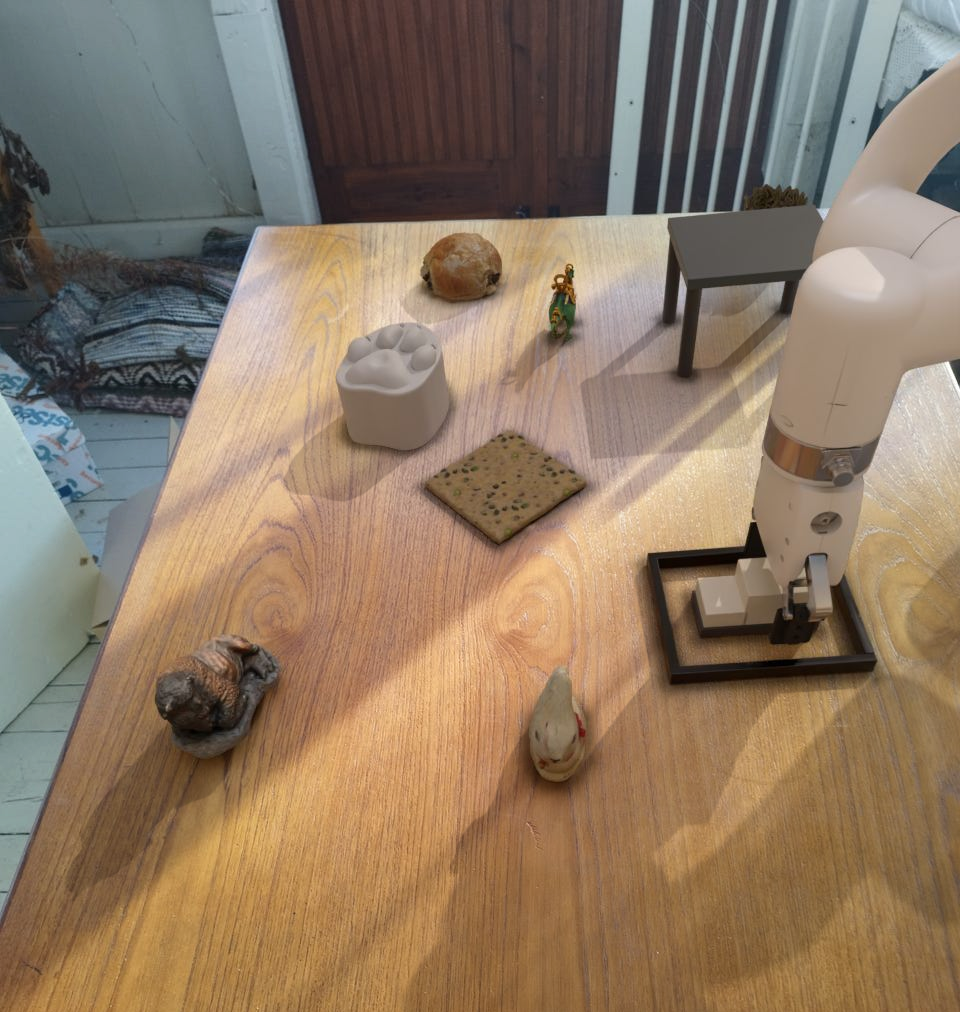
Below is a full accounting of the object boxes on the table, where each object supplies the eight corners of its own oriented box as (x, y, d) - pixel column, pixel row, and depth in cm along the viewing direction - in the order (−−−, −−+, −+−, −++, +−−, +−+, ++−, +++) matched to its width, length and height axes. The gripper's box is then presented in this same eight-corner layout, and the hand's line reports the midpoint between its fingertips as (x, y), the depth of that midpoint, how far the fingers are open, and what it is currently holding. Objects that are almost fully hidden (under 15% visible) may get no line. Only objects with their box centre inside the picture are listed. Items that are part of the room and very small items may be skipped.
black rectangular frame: (827, 550, 80) (831, 539, 79) (873, 671, 71) (878, 660, 70) (646, 563, 81) (647, 552, 80) (669, 684, 72) (671, 674, 71)
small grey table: (792, 304, 105) (814, 204, 95) (821, 367, 97) (848, 265, 87) (659, 315, 106) (668, 217, 96) (676, 379, 98) (688, 279, 88)
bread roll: (473, 332, 113) (494, 283, 106) (404, 291, 112) (420, 239, 106) (500, 291, 118) (521, 242, 112) (434, 252, 118) (452, 201, 111)
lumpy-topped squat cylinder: (337, 440, 96) (320, 373, 89) (381, 371, 103) (368, 304, 96) (425, 454, 93) (414, 385, 86) (464, 382, 101) (456, 313, 94)
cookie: (422, 486, 90) (421, 479, 89) (510, 432, 94) (510, 425, 93) (498, 545, 84) (497, 538, 83) (588, 485, 88) (588, 477, 87)
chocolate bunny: (502, 766, 69) (494, 694, 61) (553, 695, 73) (551, 619, 65) (563, 798, 67) (562, 728, 59) (612, 724, 70) (617, 649, 63)
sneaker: (804, 591, 77) (816, 552, 73) (817, 630, 74) (831, 592, 71) (690, 599, 78) (697, 560, 74) (699, 638, 75) (707, 600, 71)
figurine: (583, 309, 108) (584, 245, 101) (565, 366, 101) (565, 301, 94) (559, 307, 108) (558, 244, 102) (539, 364, 101) (537, 299, 95)
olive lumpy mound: (760, 239, 115) (771, 177, 108) (807, 259, 111) (821, 195, 104) (722, 261, 112) (731, 198, 106) (768, 282, 108) (780, 218, 102)
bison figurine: (224, 654, 78) (185, 579, 70) (297, 663, 77) (266, 587, 69) (169, 769, 71) (120, 700, 63) (249, 781, 70) (208, 712, 62)
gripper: (917, 517, 55) (848, 675, 69) (840, 359, 66) (793, 523, 79) (797, 525, 56) (752, 681, 69) (740, 367, 66) (710, 528, 80)
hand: (774, 596), depth 74 cm, fingers open, 9 cm apart
